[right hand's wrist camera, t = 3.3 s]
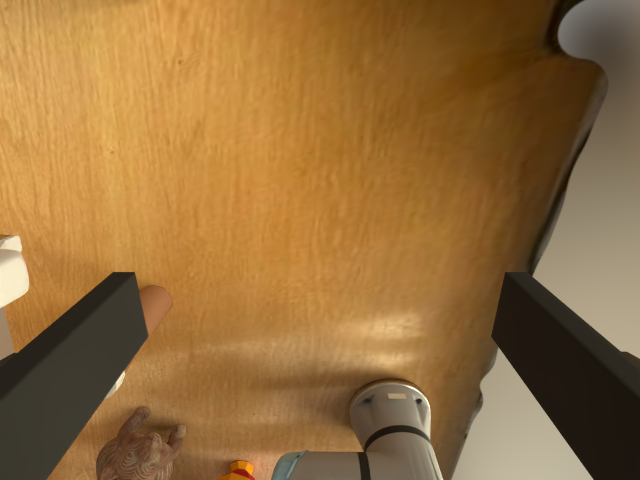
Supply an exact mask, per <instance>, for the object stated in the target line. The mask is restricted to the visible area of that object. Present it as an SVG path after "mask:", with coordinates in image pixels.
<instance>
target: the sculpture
mask: <svg viewBox="0 0 640 480" xmlns="http://www.w3.org/2000/svg"><path fill="white" fill-rule="evenodd" d="M148 415H149V410H148V409H146V408H144V407H139V408H137V409H136V411H135V413H134V415H133V416H132V417H130V418H129V419H128V420H127V421H126V422H125V423H124V425H123V426H122V427H121V429H120V430H119V433H118V436H117V438H115V439H113V440H111V441H110V442H108V443H107V444H106V445H105V446H104V447H103V448H102V449H101V451H100V453H99V455H98V458H97V462H96V473H97V479H98V480H170V478H171V475H172V472H173V464H174V463H173V459H175V458H176V457H177V455H178V454H179V451H180V449H181V445H182V440H183V437H184V435H185V434H186V427H185V426H184V425H182V424H177V425H176V426H175V427H174V429H173V430H172V432H171V433H170V436H169V440H168V443H167V444H166V443H164V442H162V438H161V436H160V435H159V434H158V433H156V432H150V433H148V434H146V435H143V434H140V433H138V432H137V431H138V429H139V428H140V427H141V426H142V425H143V424H144V423H145V421H146V419H147V417H148Z"/></svg>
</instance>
